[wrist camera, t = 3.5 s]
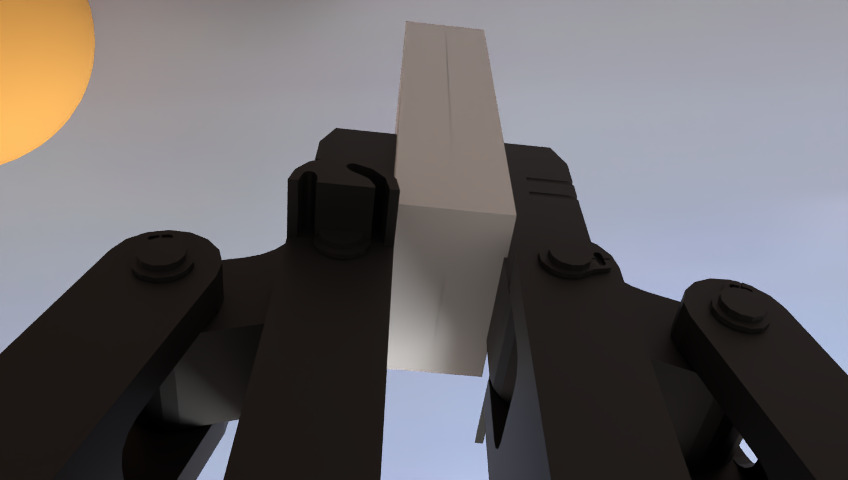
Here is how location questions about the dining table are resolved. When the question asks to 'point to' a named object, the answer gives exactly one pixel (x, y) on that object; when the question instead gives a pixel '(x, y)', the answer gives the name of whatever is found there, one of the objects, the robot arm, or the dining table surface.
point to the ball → (41, 69)
